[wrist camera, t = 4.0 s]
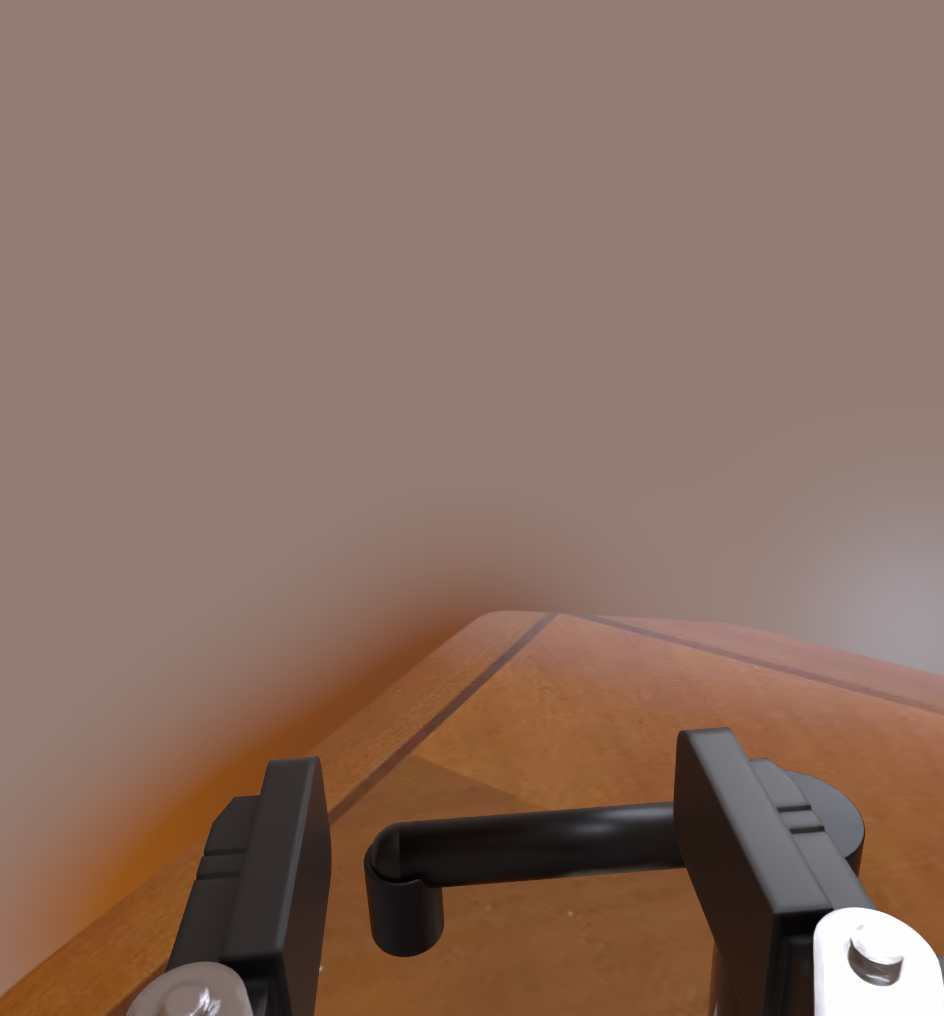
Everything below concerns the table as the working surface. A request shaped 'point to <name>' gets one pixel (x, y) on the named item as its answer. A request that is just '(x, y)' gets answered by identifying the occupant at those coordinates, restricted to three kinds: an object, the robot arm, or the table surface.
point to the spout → (538, 855)
